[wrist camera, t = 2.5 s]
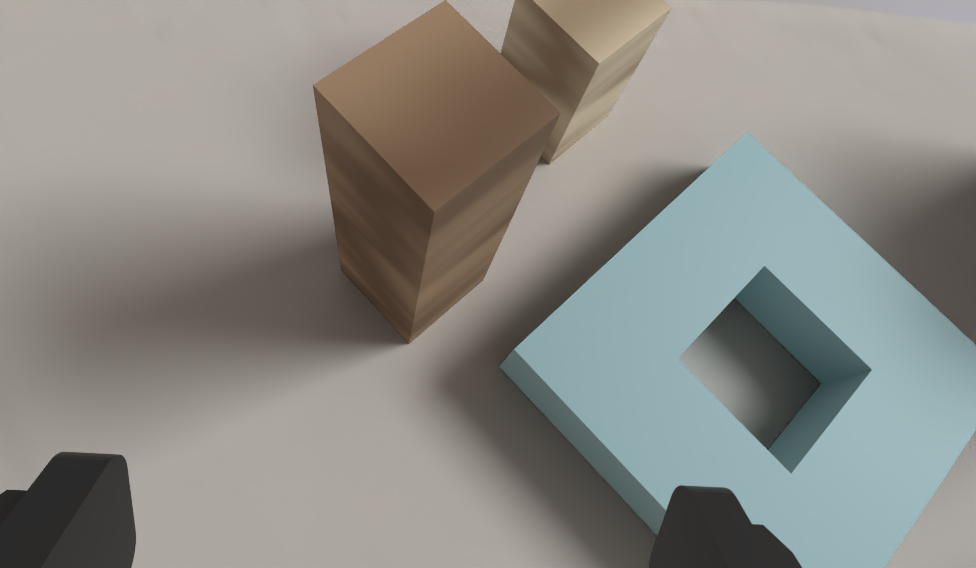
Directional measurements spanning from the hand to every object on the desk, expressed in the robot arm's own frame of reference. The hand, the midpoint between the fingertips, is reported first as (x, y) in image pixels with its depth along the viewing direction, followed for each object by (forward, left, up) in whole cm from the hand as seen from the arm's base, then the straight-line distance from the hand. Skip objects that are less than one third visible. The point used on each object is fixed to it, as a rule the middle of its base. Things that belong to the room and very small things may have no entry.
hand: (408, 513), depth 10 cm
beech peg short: (-8, +16, -14) cm, 23 cm away
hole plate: (+6, +13, -14) cm, 21 cm away
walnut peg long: (-6, +6, -14) cm, 17 cm away
